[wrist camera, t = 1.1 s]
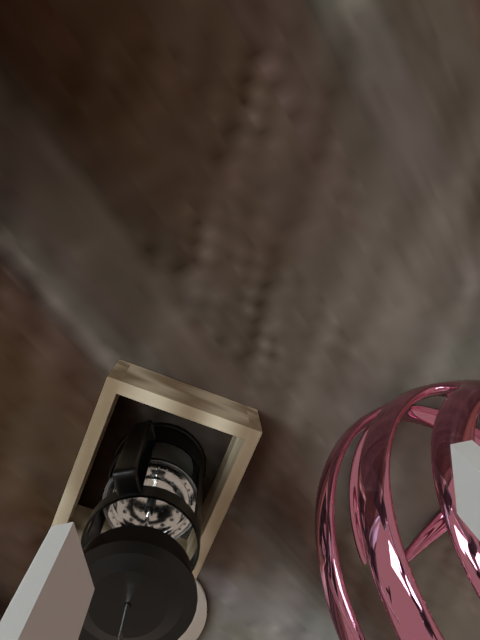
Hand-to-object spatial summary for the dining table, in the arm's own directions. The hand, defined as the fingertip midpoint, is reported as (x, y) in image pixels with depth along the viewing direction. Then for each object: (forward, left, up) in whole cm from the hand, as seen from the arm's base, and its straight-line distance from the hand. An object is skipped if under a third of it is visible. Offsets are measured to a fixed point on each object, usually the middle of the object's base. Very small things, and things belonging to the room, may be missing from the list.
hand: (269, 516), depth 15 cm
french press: (-2, -16, -29) cm, 33 cm away
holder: (-2, -16, -28) cm, 32 cm away
